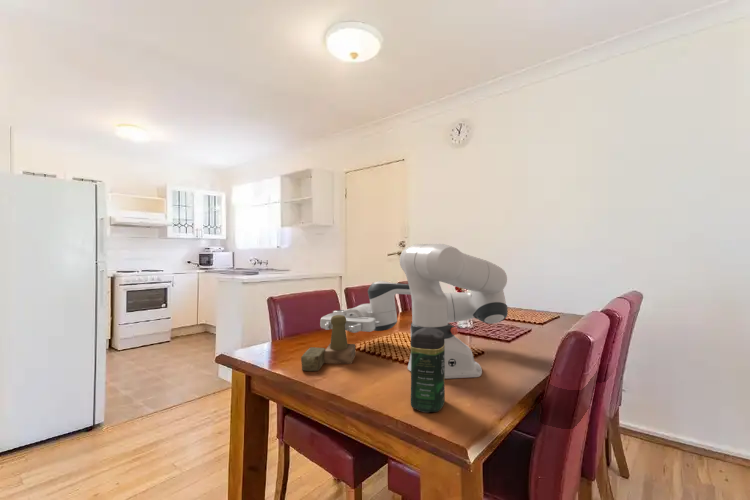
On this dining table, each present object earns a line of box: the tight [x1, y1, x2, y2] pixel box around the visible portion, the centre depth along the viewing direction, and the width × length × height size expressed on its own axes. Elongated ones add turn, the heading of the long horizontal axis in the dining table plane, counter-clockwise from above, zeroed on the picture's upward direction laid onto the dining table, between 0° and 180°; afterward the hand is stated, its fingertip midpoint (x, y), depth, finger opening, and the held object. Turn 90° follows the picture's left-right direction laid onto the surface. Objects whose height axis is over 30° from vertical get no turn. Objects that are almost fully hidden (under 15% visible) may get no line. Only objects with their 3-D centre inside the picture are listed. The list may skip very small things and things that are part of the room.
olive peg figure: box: [329, 315, 348, 350], centre depth 127 cm, size 6×6×11 cm
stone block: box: [300, 347, 326, 372], centre depth 120 cm, size 6×12×5 cm, turn 176°
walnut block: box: [323, 343, 356, 365], centre depth 127 cm, size 9×9×4 cm
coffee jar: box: [410, 327, 446, 413], centre depth 90 cm, size 10×8×19 cm
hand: (338, 328), depth 126 cm, fingers open, 8 cm apart
